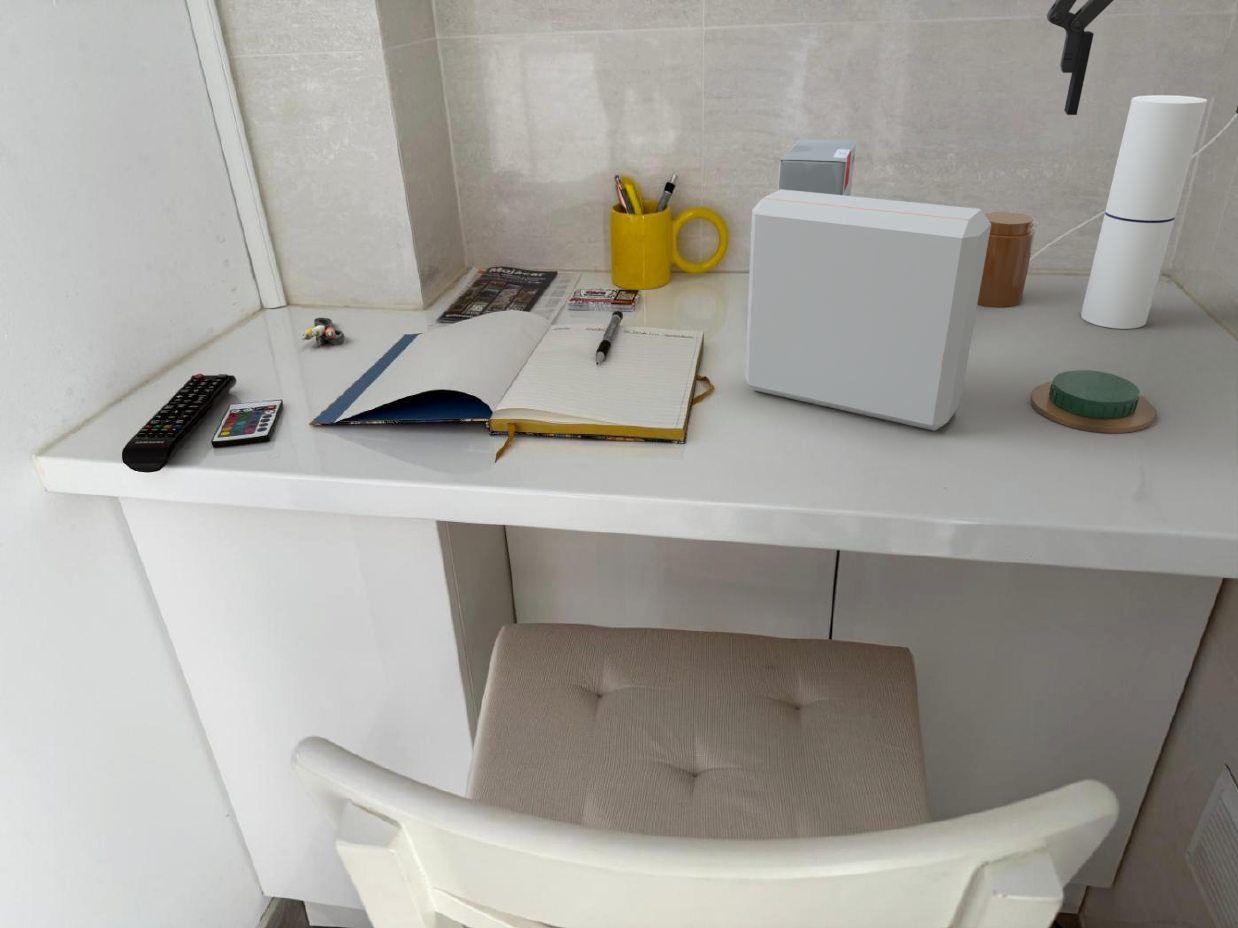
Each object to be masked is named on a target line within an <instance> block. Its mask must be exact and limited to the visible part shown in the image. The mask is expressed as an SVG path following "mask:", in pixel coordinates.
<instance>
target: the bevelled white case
mask: <svg viewBox="0 0 1238 928" xmlns="http://www.w3.org/2000/svg"><path fill="white" fill-rule="evenodd" d="M985 214H986V213H985V212H984V211H983V209H982V208H977V207H976V208H975V207H965V206H957V205H956V206H954V205H947V204H935V203H924V202H915V201H904V200H893V199H886V198H885V199H883V198H874V197H863V196H853V195H851V196H844V195H834V194H824V193H814V192H803V191H793V190H783V189H780V190H778V189H777V191H774V192H772V193H771V194H768V195H766V196H764V197H762V198H761V199H760V200H759V201H758V202H757V203H756V204H755V206H754V207H753V208H752V210H751V227H750V253H749V277H748V300H747V301H748V302H747V321H746V324H747V325H746V348H745V372H744V379H745V381H746V383H747V385H748V387H750V388H751V389H752V391H754V392H759V393H763V394H767V395H771V396H772V395H773V396H777V397H781V398H786V399H791V400H794V401H799V402H803V403H808V404H812V405H817V406H822V407H826V408H831V409H834V410H838V411H839V410H840V411H844V412H848V413H851V414H852V413H853V414H857V415H861V416H866V417H870V418H875V419H878V420H879V419H880V420H884V421H888V422H893V423H897V424H901V425H906V426H911V427H915V428H920V429H924V430H929V431H933V432H936V431H937V430H938V429H940V428H941V427H943V426H944V425H946V424H948V422H950V420H951V419H952V417H953V416H954V414H955V413H956V411H957V410H958V408H959V407H960V405H961V400H962V394H963V388H964V382H965V377H966V371H967V365H968V360H969V354H970V347H971V344H972V343H971V342H972V337H973V331H974V327H975V326H974V325H975V321H976V315H977V314H976V313H977V309H978V304H977V303H978V297H979V292H980V286H981V280H982V275H983V269H984V263H985V257H986V252H987V246H988V240H989V235H990V229H991V223H990V221H989V220H988V218H987V217H986V215H985Z"/></svg>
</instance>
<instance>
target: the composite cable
mask: <svg viewBox="0 0 1238 928" xmlns="http://www.w3.org/2000/svg"><path fill="white" fill-rule="evenodd" d="M313 323H314V324H313V325H314V327H309V328H308V329H306V330H305V331H303V333H302V337H301V341H310V340H312V339H314V337H315V342H316V344H317V346H318V347H320V346H321V345H324V344H325V343H326V342H328V343H329V344H332V345H335V344H340V343H342V342H343V341H345V338H346V336H345V334H344V332H343V331H342V330H341V329H337V328H334V324H333V320H332V319H331V318H330V317H318V318H314V320H313Z"/></svg>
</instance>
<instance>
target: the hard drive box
mask: <svg viewBox="0 0 1238 928" xmlns="http://www.w3.org/2000/svg"><path fill="white" fill-rule="evenodd" d="M856 147H857V140H855V139H831V138H830V139H827V138H798V139H797V140H796V141H795V142H794V144H793V145H792V146H791V147H790V148H789V149H788V151H787V152H786V153H785V154H784V155H783V156H782V158H781V159H780V160H779V169H778V185H777V191H778V190H780V189H783V190H793V191H803V192H814V193H824V194H834V195H844V196H852V186H853V185H852V184H853V177H854V166H855V157H856V149H857V148H856Z"/></svg>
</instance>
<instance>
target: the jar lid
mask: <svg viewBox="0 0 1238 928" xmlns="http://www.w3.org/2000/svg"><path fill="white" fill-rule="evenodd" d="M1052 381H1053V383H1052V384H1051V388H1050V392H1049V395H1050V399H1051V401H1052V402H1053V404H1055V405H1056V406H1058V407H1059V408H1061V409H1063V410H1065V411H1067V412H1070V413H1073V414H1076V415H1080V416H1084V417H1089V418H1098V419H1116V418H1123V417H1126V416H1129V415H1131V414H1132V413H1133V412H1135V410H1136V407H1137V403H1138V400H1139V395H1140V392H1141V391H1140V389H1139V387H1138V386H1137V385H1136V384H1135V383H1134V382H1132V381H1130V380H1129V379H1127V378H1125V377H1121V376H1119V375H1116V374H1112V373H1108V372H1103V371H1098V370H1089V369H1088V370H1087V369H1075V370H1074V369H1073V370H1066V371H1063V372H1059V373H1058V374H1056V375H1055V377H1053V380H1052Z"/></svg>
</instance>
